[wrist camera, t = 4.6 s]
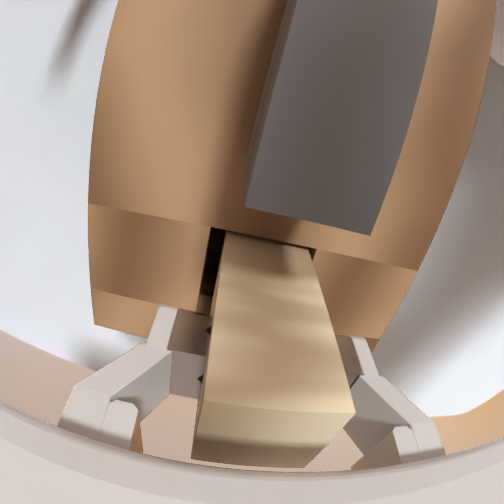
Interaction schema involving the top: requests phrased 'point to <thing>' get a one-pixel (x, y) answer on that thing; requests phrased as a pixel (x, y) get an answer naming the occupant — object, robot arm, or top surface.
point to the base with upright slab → (498, 34)
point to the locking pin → (269, 360)
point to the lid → (279, 144)
